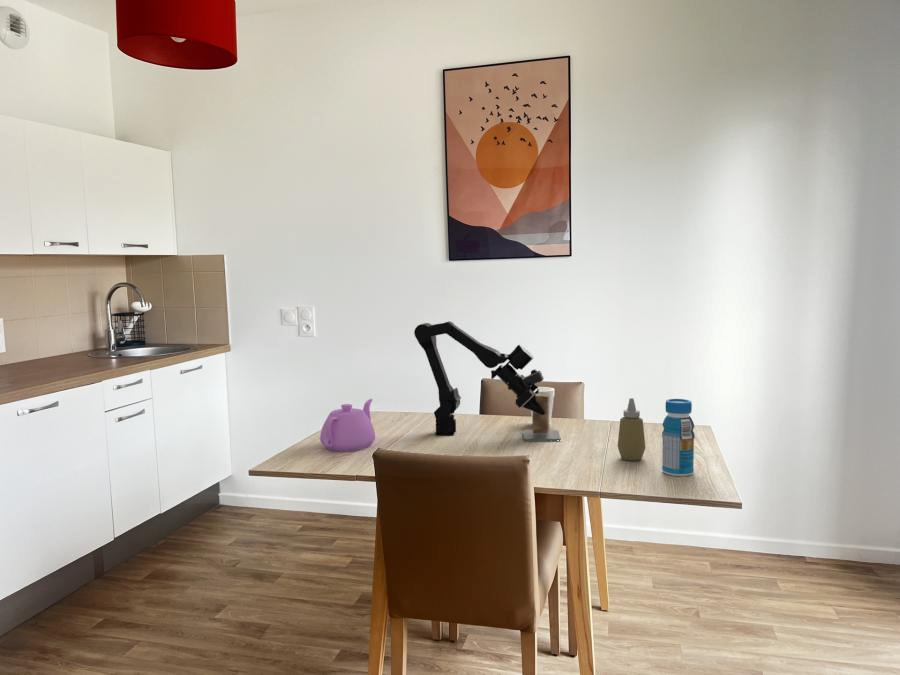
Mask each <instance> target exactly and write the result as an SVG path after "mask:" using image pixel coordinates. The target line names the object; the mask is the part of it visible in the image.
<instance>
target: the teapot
mask: <svg viewBox="0 0 900 675" xmlns="http://www.w3.org/2000/svg"><path fill="white" fill-rule="evenodd" d="M372 402H373V398H369V399H368V400H366V401H365V403H364V405H363V409H361V408H353V404H350V403H346V404H342V405H341V408H339V409H338V408H337V409H334V410H332V411H330V413H329V414H328V416H327V418H326V419H325V421H324V423H323V425H322V427H321V430H320V436H319V441H320V443H321V444H322V446H323V447H324V448H325V449H327V450H328V451H331V452H354V451H356V452H357V451H361V450H365V449H367V448H369V447H371V445H372V444H373V442H374V441H375V439H376V432H375V428H374V426H373V423H372V417H371V411H370V410H371V409H370V408H371V404H372Z"/></svg>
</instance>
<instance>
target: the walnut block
mask: <svg viewBox="0 0 900 675" xmlns="http://www.w3.org/2000/svg"><path fill="white" fill-rule="evenodd" d="M536 400H537V402H538V403H539V405H540V406H541V407H542V409H543V410H544V412H545V414H544V415H541V414H539V413H537V412H534V411H533V423H532V430H533V433H543V434H548V432H549V430H550V425H549V394H536Z"/></svg>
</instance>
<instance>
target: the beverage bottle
mask: <svg viewBox="0 0 900 675" xmlns="http://www.w3.org/2000/svg"><path fill="white" fill-rule="evenodd" d="M692 405H693V403H692V401H691V400H690V399H684V398H669V399H666V400H665V413H667V415H666V417H664V419H663V421H662V427H663V429H662V432H661V438H662V467H661V471H662V472H663V473H664V474H666V475H668V476H673V477H688V476H691V475H692V474H693V475H694V455H695V454H694V453H695V452H694V450H695V449H694V448H695V447H694V446H695V442H694V441H695V439H696V438H695V432H694V429H695V423H694V421H693V419H692V417H691V416H690V414H692V412H693V411H692V409H693V408H692V407H693V406H692Z"/></svg>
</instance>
